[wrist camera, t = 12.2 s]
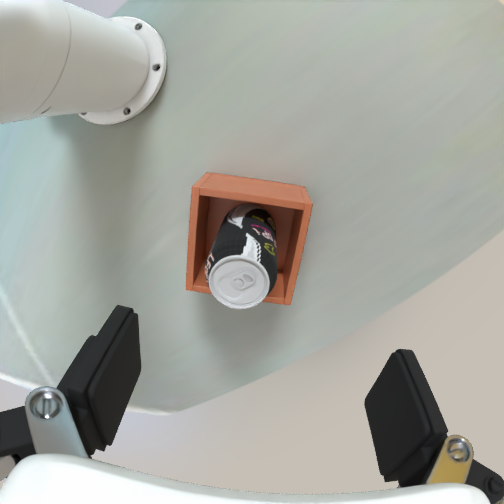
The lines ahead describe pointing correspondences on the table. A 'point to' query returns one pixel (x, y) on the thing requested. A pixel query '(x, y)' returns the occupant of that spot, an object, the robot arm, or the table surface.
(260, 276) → the beverage can
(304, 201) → the bin
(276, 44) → the table surface
